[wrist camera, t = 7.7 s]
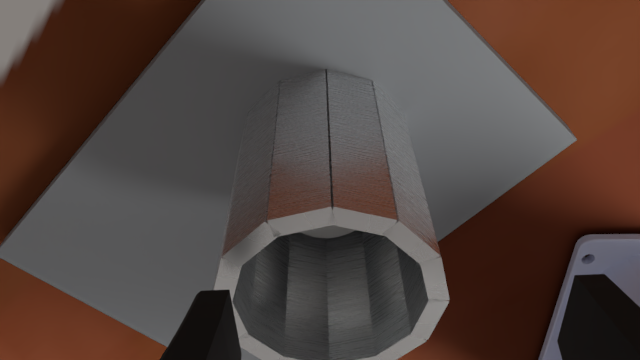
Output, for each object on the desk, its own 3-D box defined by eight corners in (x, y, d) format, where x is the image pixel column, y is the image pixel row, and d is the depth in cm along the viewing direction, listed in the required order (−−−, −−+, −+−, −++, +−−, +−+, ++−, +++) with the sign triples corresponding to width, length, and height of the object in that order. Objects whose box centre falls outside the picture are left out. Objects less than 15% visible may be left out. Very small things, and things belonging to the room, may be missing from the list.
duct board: (566, 124, 21) (613, 192, 18) (243, 368, 28) (234, 447, 25) (315, -138, 16) (315, -111, 13) (5, 237, 24) (-45, 314, 20)
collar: (442, 148, 20) (493, 300, 15) (324, 237, 23) (328, 400, 17) (326, 35, 18) (333, 165, 12) (208, 148, 20) (166, 302, 15)
